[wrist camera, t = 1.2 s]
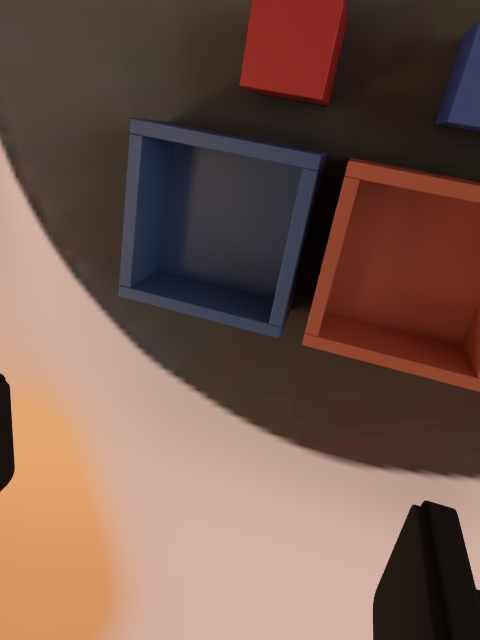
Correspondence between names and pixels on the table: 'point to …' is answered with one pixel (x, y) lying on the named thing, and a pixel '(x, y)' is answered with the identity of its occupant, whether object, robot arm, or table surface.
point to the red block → (294, 48)
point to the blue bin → (216, 223)
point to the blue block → (463, 86)
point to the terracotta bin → (402, 274)
